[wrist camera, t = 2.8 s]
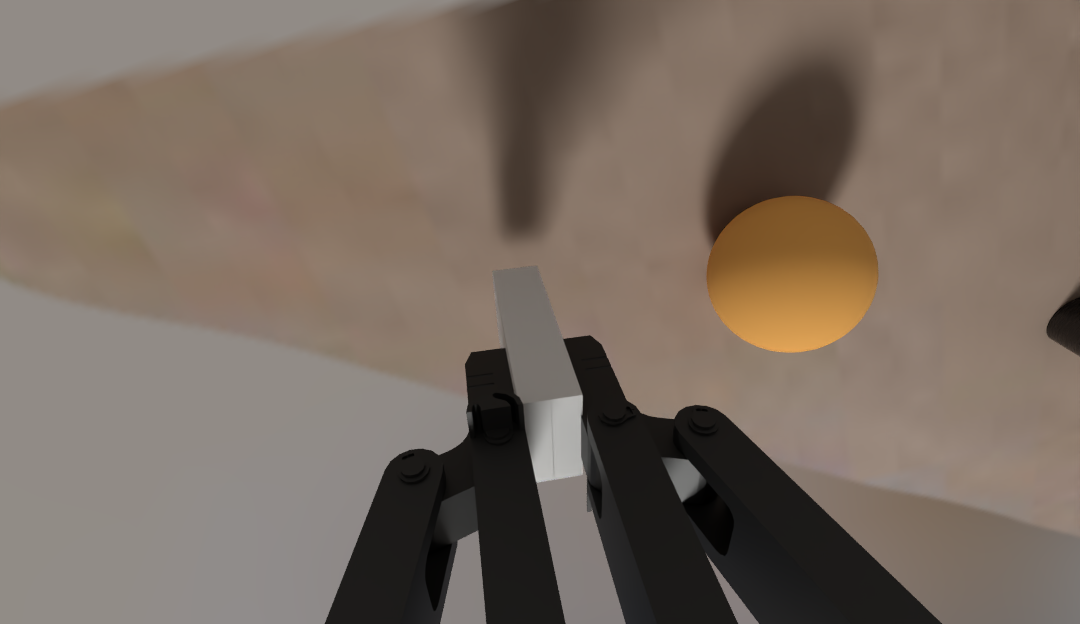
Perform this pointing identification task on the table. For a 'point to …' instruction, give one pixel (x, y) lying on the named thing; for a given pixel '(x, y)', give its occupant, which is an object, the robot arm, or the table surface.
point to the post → (1066, 326)
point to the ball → (792, 274)
